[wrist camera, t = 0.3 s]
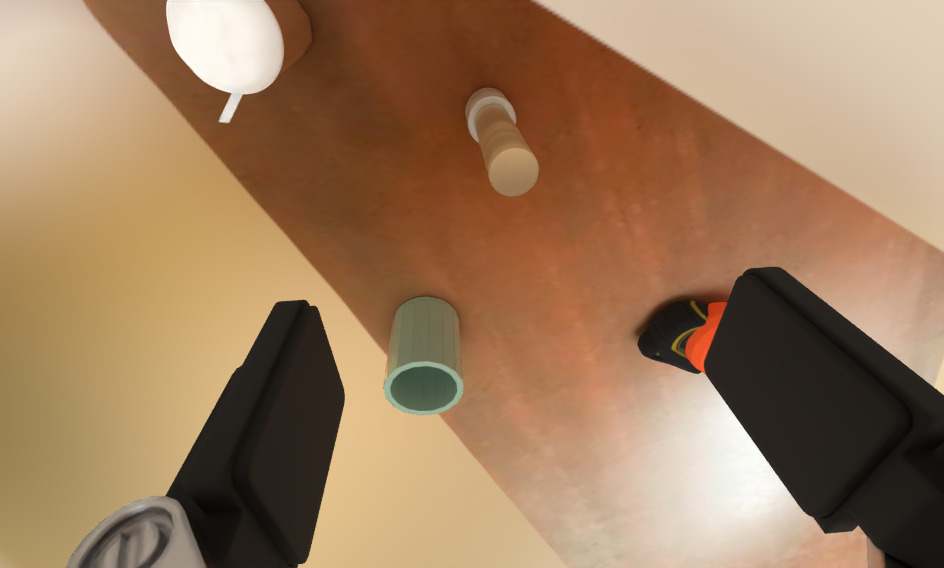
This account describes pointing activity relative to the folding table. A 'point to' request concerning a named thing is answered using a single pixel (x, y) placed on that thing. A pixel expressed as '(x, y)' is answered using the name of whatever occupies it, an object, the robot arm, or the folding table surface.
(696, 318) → the tape measure
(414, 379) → the cup
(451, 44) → the folding table surface
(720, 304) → the clementine
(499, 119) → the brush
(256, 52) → the milkshake
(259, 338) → the robot arm
